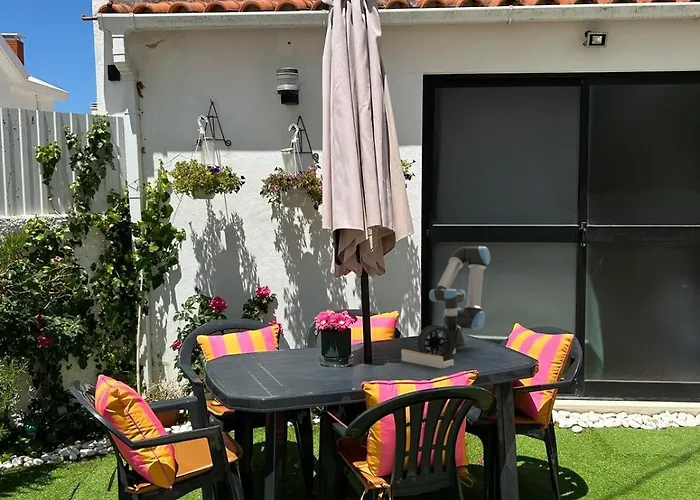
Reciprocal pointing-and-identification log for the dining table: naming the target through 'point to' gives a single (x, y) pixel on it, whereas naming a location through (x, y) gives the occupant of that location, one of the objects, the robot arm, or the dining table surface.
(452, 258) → the robot arm
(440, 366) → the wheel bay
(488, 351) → the dining table surface
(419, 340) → the wheel rim
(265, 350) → the dining table surface
